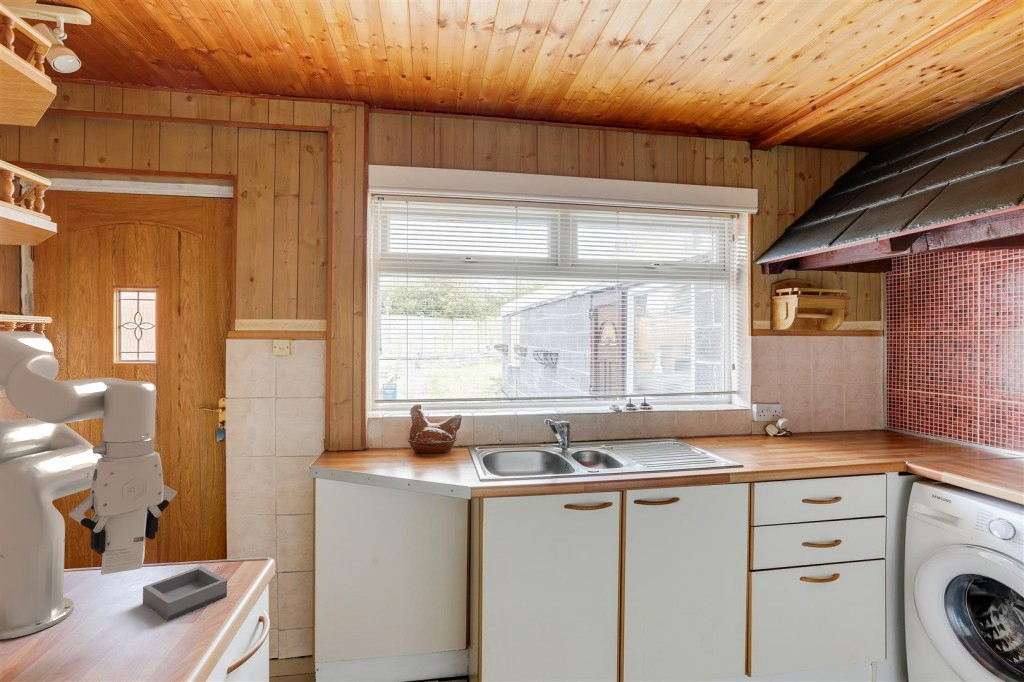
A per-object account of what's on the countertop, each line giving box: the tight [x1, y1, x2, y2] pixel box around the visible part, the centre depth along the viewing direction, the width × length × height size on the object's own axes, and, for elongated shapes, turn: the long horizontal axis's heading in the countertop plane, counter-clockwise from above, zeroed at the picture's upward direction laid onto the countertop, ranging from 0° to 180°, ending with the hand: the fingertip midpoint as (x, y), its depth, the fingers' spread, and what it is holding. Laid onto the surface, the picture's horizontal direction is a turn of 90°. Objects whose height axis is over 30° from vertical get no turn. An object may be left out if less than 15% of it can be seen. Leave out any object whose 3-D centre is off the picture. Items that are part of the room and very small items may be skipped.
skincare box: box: [100, 503, 148, 576], centre depth 89 cm, size 6×4×12 cm
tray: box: [142, 565, 228, 622], centre depth 100 cm, size 11×11×4 cm
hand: (125, 543), depth 89 cm, fingers closed on skincare box, 7 cm apart
